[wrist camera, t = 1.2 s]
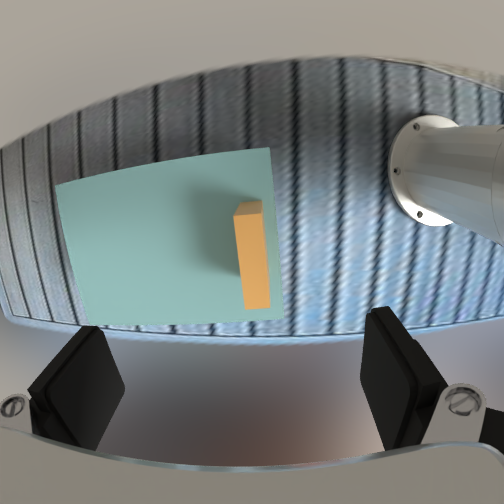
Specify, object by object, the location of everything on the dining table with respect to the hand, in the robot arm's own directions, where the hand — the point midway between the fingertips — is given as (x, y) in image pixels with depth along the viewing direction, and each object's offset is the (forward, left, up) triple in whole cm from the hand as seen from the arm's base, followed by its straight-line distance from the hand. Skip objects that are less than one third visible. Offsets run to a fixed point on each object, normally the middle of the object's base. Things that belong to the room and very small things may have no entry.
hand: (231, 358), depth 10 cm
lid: (+7, 0, -17) cm, 18 cm away
